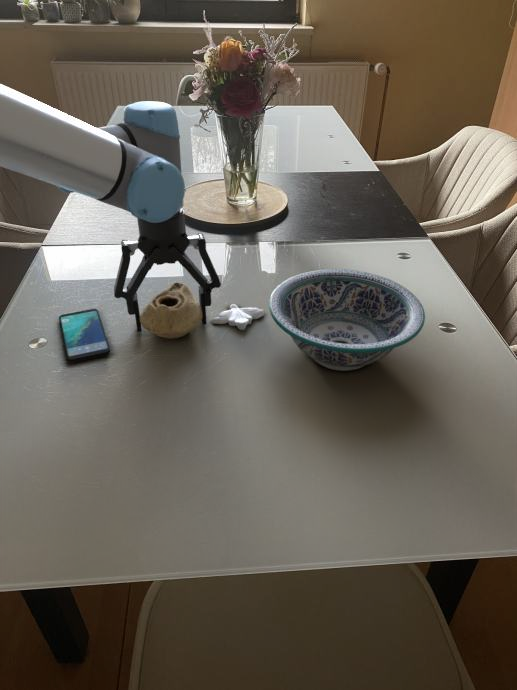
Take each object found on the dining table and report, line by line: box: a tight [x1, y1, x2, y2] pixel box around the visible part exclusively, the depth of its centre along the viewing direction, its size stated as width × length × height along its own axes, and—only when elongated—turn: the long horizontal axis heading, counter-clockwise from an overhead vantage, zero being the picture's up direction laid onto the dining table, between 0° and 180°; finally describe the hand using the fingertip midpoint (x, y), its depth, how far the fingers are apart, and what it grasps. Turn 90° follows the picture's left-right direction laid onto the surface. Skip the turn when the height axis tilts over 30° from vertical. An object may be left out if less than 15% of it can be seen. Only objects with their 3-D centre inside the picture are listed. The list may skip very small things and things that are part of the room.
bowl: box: [268, 268, 426, 372], centre depth 90 cm, size 25×25×10 cm
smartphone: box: [58, 308, 111, 363], centre depth 95 cm, size 7×1×15 cm
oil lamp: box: [140, 281, 202, 339], centre depth 96 cm, size 11×15×8 cm
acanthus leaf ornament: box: [212, 303, 265, 331], centre depth 100 cm, size 8×7×2 cm
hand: (171, 324), depth 98 cm, fingers closed on oil lamp, 11 cm apart
